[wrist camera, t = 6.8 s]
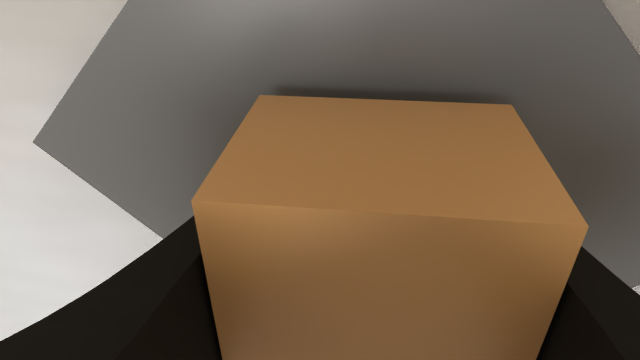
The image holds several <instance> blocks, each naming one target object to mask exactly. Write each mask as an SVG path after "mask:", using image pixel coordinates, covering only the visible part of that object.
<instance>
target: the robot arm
mask: <svg viewBox="0 0 640 360" xmlns="http://www.w3.org/2000/svg"><path fill="white" fill-rule="evenodd" d="M0 360H222V355H221V350H220V345H219V339H218V334H217V329H216V324H215V319H214V314H213V309H212V304H211V299H210V294H209V289H208V284H207V278H206V273H205V268H204V263H203V258H202V253H201V248H200V243H199V238H198V233H197V228H196V223H195V217H194V216H192V217H191V218H190V219H189V220H187V221H186V222H185V223H184V224H182V225H181V226H180V227H178V228H177V229H176V230H175V231H173V232H172V233H171V234H169V235H168V236H167V237H166V238H164V239H163V240H162V241H160V242H159V243H158V244H157V245H155V246H154V247H153V248H151V249H150V250H148V251H147V252H146V253H144V254H143V255H141V256H140V257H139V258H137V259H136V260H134V261H133V262H131V263H130V264H129V265H127V266H126V267H124V268H123V269H122V270H120V271H119V272H117V273H116V274H115V275H113V276H112V277H110V278H109V279H107V280H106V281H104V282H103V283H101V284H100V285H98V286H97V287H95V288H94V289H92V290H90V291H89V292H87V293H86V294H84V295H82V296H81V297H79V298H78V299H76V300H74V301H72V302H71V303H69V304H67V305H66V306H64V307H62V308H61V309H59V310H57V311H56V312H54V313H52V314H51V315H49V316H47V317H45V318H44V319H42V320H40V321H38V322H36V323H34V324H33V325H31V326H29V327H27V328H25V329H23V330H21V331H19V332H17V333H15V334H13V335H12V336H10V337H8V338H6V339H4V340H2V341H0ZM536 360H640V295H639V294H638V293H636V292H635V291H634V290H633V289H631V288H630V287H629V286H628V285H627V284H625V283H624V282H623V281H622V280H621V279H619V278H618V277H617V276H616V275H615V274H613V273H612V272H611V271H610V270H609V269H608V268H606V267H605V266H604V265H603V264H602V263H601V262H599V261H598V260H597V259H596V258H595V257H594V256H593V255H591V254H590V253H589V252H588V251H587V250H586V249H585V248H583V247H582V246H581V248H580V250H579V253H578V255H577V258H576V260H575V263H574V265H573V268H572V270H571V273H570V275H569V278H568V280H567V283H566V285H565V288H564V290H563V293H562V295H561V298H560V300H559V303H558V305H557V308H556V311H555V313H554V316H553V318H552V321H551V323H550V326H549V328H548V331H547V333H546V336H545V338H544V341H543V343H542V346H541V348H540V351H539V353H538V356H537V358H536Z"/></svg>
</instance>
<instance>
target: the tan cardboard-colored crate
mask: <svg viewBox="0 0 640 360" xmlns="http://www.w3.org/2000/svg"><path fill="white" fill-rule="evenodd" d="M191 202H192V207H193V212H194V217H195V223H196V228H197V233H198V238H199V243H200V248H201V253H202V258H203V263H204V268H205V273H206V278H207V284H208V289H209V294H210V299H211V304H212V309H213V314H214V319H215V324H216V329H217V334H218V339H219V345H220V350H221V355H222V360H536V358H537V356H538V353H539V351H540V348H541V346H542V343H543V341H544V338H545V336H546V333H547V331H548V328H549V326H550V323H551V321H552V318H553V316H554V313H555V311H556V308H557V305H558V303H559V300H560V298H561V295H562V293H563V290H564V288H565V285H566V283H567V280H568V278H569V275H570V273H571V270H572V268H573V265H574V263H575V260H576V258H577V255H578V253H579V250H580V248H581V245H582V243H583V240H584V237H585V235H586V232H587V230H588V227H589V226H588V224H587V223H586V221H585V220H584V218H583V217H582V215H581V213H580V212H579V210H578V209H577V207H576V205H575V204H574V202H573V201H572V199H571V198H570V196H569V194H568V193H567V191H566V190H565V188H564V187H563V185H562V183H561V182H560V180H559V179H558V177H557V175H556V174H555V172H554V171H553V169H552V168H551V166H550V164H549V163H548V161H547V160H546V158H545V157H544V155H543V153H542V152H541V150H540V149H539V147H538V145H537V144H536V142H535V141H534V139H533V138H532V136H531V134H530V133H529V131H528V130H527V128H526V127H525V125H524V123H523V122H522V120H521V119H520V117H519V115H518V114H517V112H516V111H515V109H514V108H513V106H512V105H508V104H482V103H456V102H430V101H404V100H378V99H352V98H326V97H300V96H274V95H259V97H258V98H257V100H256V101H255V103H254V104H253V106H252V108H251V109H250V111H249V112H248V114H247V115H246V117H245V118H244V120H243V121H242V123H241V124H240V126H239V128H238V129H237V131H236V132H235V134H234V135H233V137H232V138H231V140H230V141H229V143H228V144H227V146H226V148H225V149H224V151H223V152H222V154H221V155H220V157H219V158H218V160H217V161H216V163H215V164H214V166H213V167H212V169H211V171H210V172H209V174H208V175H207V177H206V178H205V180H204V181H203V183H202V184H201V186H200V187H199V189H198V191H197V192H196V194H195V195H194V197H193V198H192V200H191Z"/></svg>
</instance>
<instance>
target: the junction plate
mask: <svg viewBox="0 0 640 360" xmlns="http://www.w3.org/2000/svg"><path fill="white" fill-rule="evenodd" d="M259 95H274V96H300V97H326V98H352V99H378V100H404V101H430V102H456V103H482V104H508V105H512V106H513V108H514V109H515V111H516V112H517V114H518V115H519V117H520V119H521V120H522V122H523V123H524V125H525V127H526V128H527V130H528V131H529V133H530V134H531V136H532V138H533V139H534V141H535V142H536V144H537V145H538V147H539V149H540V150H541V152H542V153H543V155H544V157H545V158H546V160H547V161H548V163H549V164H550V166H551V168H552V169H553V171H554V172H555V174H556V175H557V177H558V179H559V180H560V182H561V183H562V185H563V187H564V188H565V190H566V191H567V193H568V194H569V196H570V198H571V199H572V201H573V202H574V204H575V205H576V207H577V209H578V210H579V212H580V213H581V215H582V217H583V218H584V220H585V221H586V223H587V224H588V226H589V227H588V230H587V232H586V235H585V237H584V240H583V243H582V245H581V246H582V247H583V248H585V249H586V250H587V251H588V252H589V253H590V254H591V255H593V256H594V257H595V258H596V259H597V260H598V261H599V262H601V263H602V264H603V265H604V266H605V267H606V268H608V269H609V270H610V271H611V272H612V273H613V274H615V275H616V276H617V277H618V278H619V279H621V280H622V281H623V282H624V283H625V284H627V285H628V286H629V287H630V288H633V287H635V286H637V285H640V56H639V54H638V53H637V51H636V50H635V49H634V47H633V46H632V44H631V43H630V41H629V40H628V38H627V37H626V35H625V34H624V32H623V31H622V29H621V28H620V27H619V25H618V24H617V22H616V21H615V19H614V18H613V16H612V15H611V13H610V12H609V10H608V9H607V7H606V6H605V5H604V3H603V2H602V0H128V1H127V3H126V4H125V6H124V7H123V9H122V10H121V12H120V13H119V15H118V16H117V18H116V19H115V21H114V22H113V23H112V25H111V26H110V28H109V29H108V31H107V32H106V34H105V35H104V37H103V38H102V40H101V41H100V43H99V44H98V46H97V47H96V49H95V50H94V52H93V53H92V55H91V56H90V58H89V59H88V61H87V62H86V64H85V65H84V67H83V68H82V70H81V71H80V73H79V74H78V76H77V77H76V79H75V80H74V82H73V83H72V85H71V86H70V88H69V89H68V91H67V92H66V94H65V95H64V96H63V98H62V99H61V101H60V102H59V104H58V105H57V107H56V108H55V110H54V111H53V113H52V114H51V116H50V117H49V119H48V120H47V122H46V123H45V125H44V126H43V128H42V129H41V131H40V132H39V134H38V135H37V137H36V138H35V140H34V141H33V143H34V144H36V145H37V146H38V147H40V148H41V149H42V150H44V151H45V152H47V153H48V154H49V155H51V156H52V157H53V158H55V159H56V160H57V161H59V162H60V163H61V164H63V165H64V166H65V167H67V168H68V169H70V170H71V171H72V172H74V173H75V174H76V175H78V176H79V177H80V178H82V179H83V180H84V181H86V182H87V183H89V184H90V185H91V186H93V187H94V188H95V189H97V190H98V191H99V192H101V193H102V194H103V195H105V196H106V197H107V198H109V199H110V200H112V201H113V202H114V203H116V204H117V205H118V206H120V207H121V208H122V209H124V210H125V211H126V212H128V213H129V214H131V215H132V216H133V217H135V218H136V219H137V220H139V221H140V222H141V223H143V224H144V225H145V226H147V227H148V228H149V229H151V230H152V231H154V232H155V233H156V234H158V235H159V236H160V237H162V238H163V239H164V238H166V237H167V236H168V235H169V234H171V233H172V232H173V231H175V230H176V229H177V228H178V227H180V226H181V225H182V224H184V223H185V222H186V221H187V220H189V219H190V218H191V217H192V216H194V212H193V207H192V202H191V200H192V198H193V197H194V195H195V194H196V192H197V191H198V189H199V187H200V186H201V184H202V183H203V181H204V180H205V178H206V177H207V175H208V174H209V172H210V171H211V169H212V167H213V166H214V164H215V163H216V161H217V160H218V158H219V157H220V155H221V154H222V152H223V151H224V149H225V148H226V146H227V144H228V143H229V141H230V140H231V138H232V137H233V135H234V134H235V132H236V131H237V129H238V128H239V126H240V124H241V123H242V121H243V120H244V118H245V117H246V115H247V114H248V112H249V111H250V109H251V108H252V106H253V104H254V103H255V101H256V100H257V98H258V97H259Z"/></svg>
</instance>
